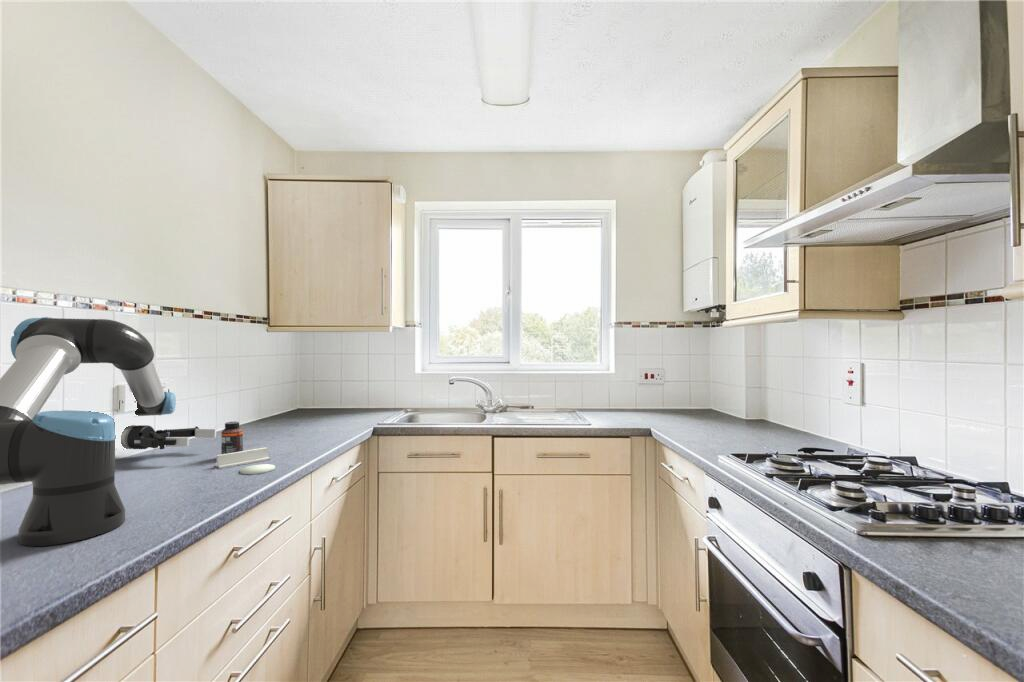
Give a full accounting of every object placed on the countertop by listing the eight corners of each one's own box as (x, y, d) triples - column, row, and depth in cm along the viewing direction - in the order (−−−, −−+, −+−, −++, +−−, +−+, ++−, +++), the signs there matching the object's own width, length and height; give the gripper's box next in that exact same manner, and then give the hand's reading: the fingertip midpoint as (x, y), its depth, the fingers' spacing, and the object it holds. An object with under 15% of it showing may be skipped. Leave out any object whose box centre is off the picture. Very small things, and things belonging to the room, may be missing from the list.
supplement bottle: (241, 454, 150) (241, 420, 150) (244, 457, 146) (244, 422, 146) (219, 456, 146) (220, 422, 147) (222, 460, 142) (222, 424, 142)
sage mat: (280, 469, 132) (280, 468, 132) (246, 476, 125) (246, 474, 125) (268, 464, 138) (268, 462, 138) (235, 470, 131) (235, 468, 131)
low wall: (270, 459, 143) (270, 448, 143) (219, 468, 133) (219, 456, 133) (264, 457, 146) (264, 446, 146) (214, 465, 136) (214, 454, 136)
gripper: (163, 440, 157) (225, 440, 158) (100, 458, 132) (175, 458, 133) (163, 419, 157) (225, 419, 158) (101, 433, 133) (175, 433, 133)
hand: (202, 437), depth 146 cm, fingers open, 13 cm apart
